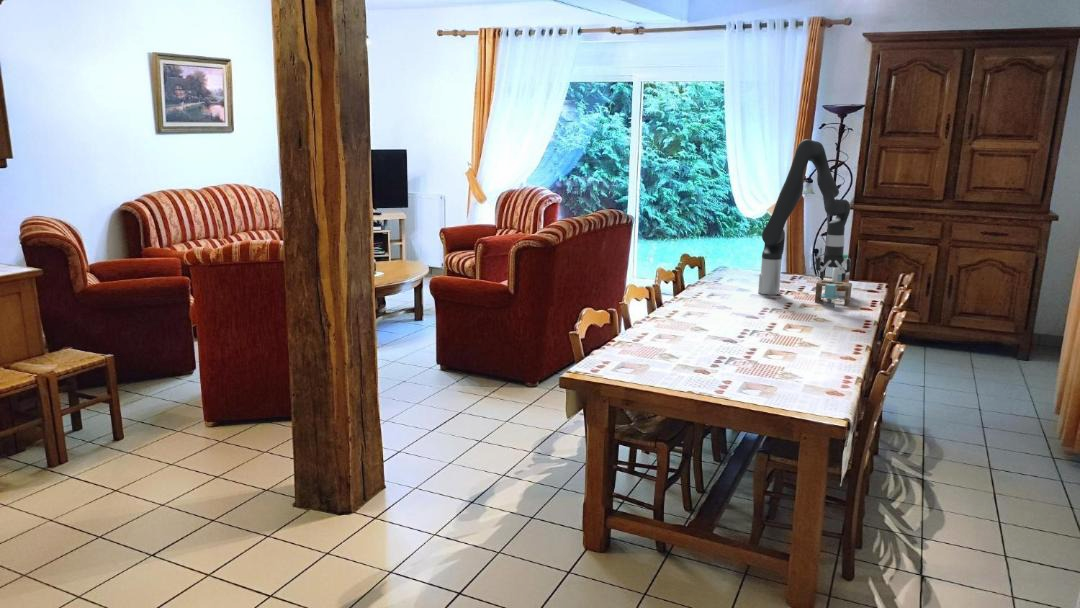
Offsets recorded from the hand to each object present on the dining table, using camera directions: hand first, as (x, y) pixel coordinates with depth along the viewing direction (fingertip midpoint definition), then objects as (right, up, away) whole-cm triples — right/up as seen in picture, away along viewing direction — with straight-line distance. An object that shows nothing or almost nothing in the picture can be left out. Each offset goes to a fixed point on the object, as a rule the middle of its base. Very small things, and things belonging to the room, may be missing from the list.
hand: (832, 280), depth 345 cm
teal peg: (-1, -11, +2) cm, 12 cm away
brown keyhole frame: (+4, -10, +10) cm, 15 cm away
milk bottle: (+13, -7, +25) cm, 29 cm away
